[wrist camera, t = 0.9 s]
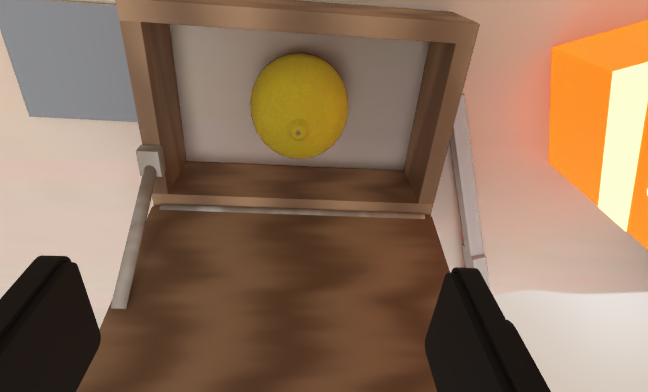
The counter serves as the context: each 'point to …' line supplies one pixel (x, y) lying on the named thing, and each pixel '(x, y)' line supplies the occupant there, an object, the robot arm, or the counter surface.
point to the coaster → (68, 59)
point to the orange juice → (604, 122)
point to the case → (278, 230)
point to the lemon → (299, 105)
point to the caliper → (467, 192)
